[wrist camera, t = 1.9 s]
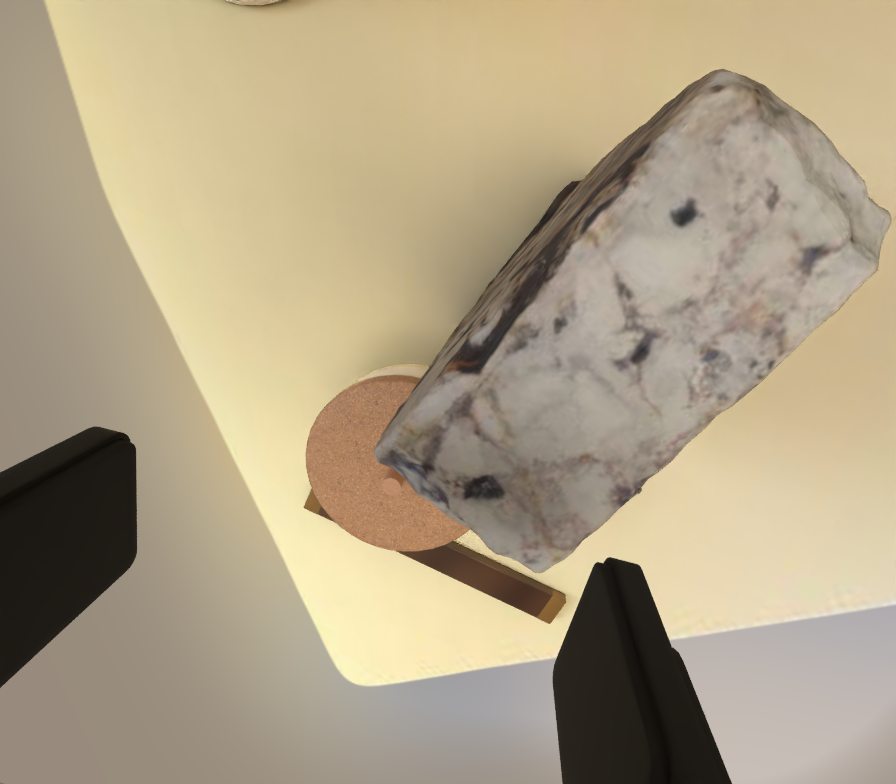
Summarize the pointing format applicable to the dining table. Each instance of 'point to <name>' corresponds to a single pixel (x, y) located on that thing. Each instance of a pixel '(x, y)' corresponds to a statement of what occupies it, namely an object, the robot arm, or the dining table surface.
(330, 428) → the trinket box
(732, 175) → the stone block
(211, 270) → the dining table surface
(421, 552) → the walnut straight-edge
